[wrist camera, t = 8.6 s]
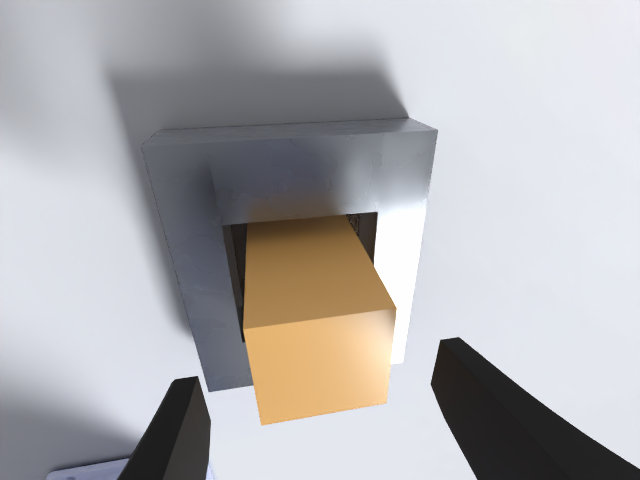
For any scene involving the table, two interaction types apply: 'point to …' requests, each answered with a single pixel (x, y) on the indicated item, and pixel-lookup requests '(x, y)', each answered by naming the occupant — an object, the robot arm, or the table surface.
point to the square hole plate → (285, 211)
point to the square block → (315, 319)
